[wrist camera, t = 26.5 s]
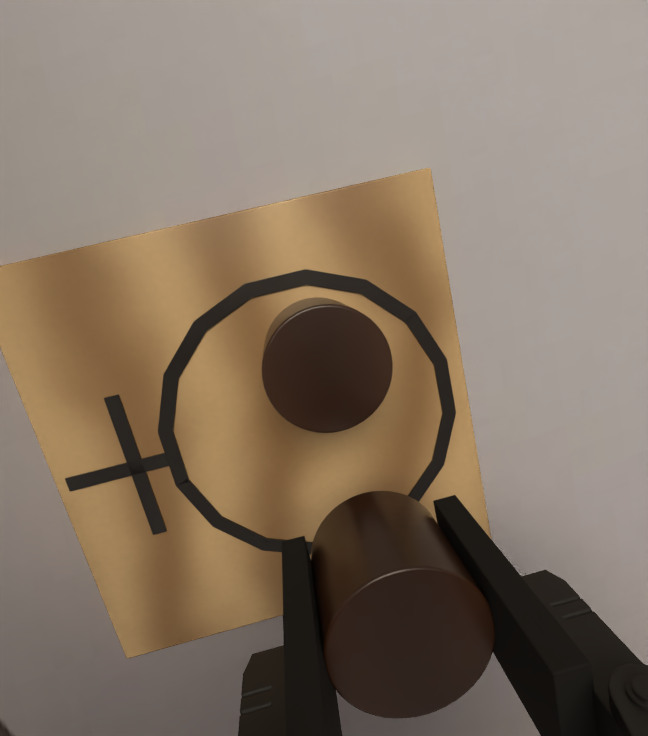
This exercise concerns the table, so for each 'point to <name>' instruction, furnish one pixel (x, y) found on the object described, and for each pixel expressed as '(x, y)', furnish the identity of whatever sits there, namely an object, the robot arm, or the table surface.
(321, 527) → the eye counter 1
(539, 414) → the table surface
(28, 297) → the drawing board
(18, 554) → the table surface
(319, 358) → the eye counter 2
